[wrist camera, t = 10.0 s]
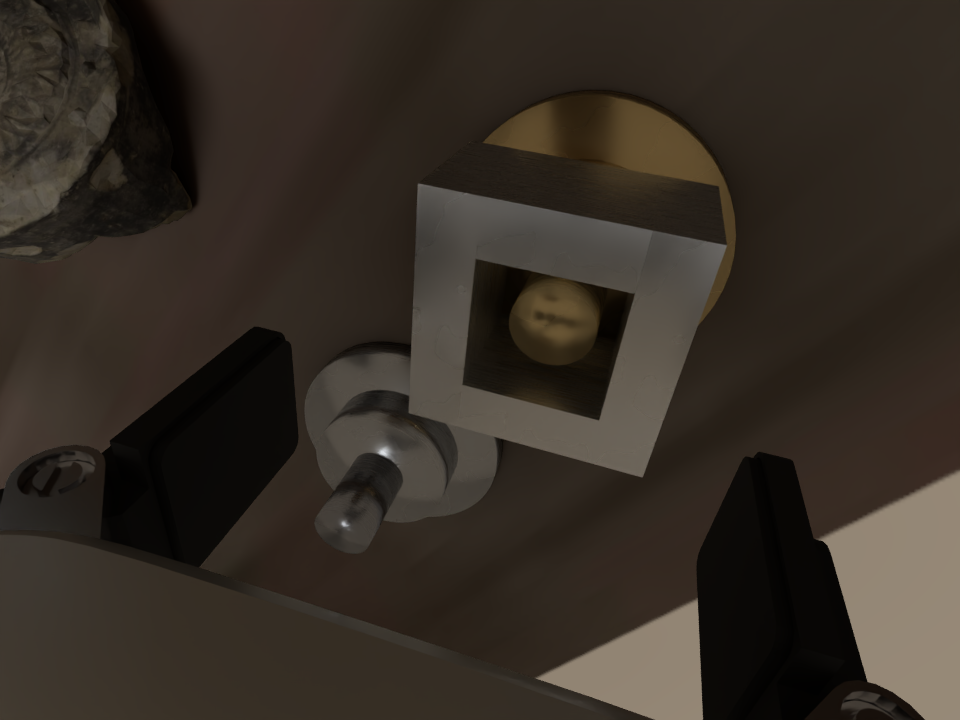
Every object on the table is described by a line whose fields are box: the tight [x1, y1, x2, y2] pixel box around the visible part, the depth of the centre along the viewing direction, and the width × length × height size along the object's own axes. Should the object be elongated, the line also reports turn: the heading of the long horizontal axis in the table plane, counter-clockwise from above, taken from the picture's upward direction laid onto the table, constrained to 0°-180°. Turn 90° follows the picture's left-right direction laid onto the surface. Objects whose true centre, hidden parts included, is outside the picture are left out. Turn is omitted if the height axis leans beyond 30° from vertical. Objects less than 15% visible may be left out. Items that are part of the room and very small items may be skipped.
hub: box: [483, 90, 736, 365], centre depth 17 cm, size 9×9×6 cm
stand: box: [304, 342, 502, 554], centre depth 24 cm, size 9×9×6 cm
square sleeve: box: [409, 141, 727, 477], centre depth 16 cm, size 6×6×4 cm
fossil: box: [0, 0, 192, 264], centre depth 20 cm, size 11×9×10 cm
